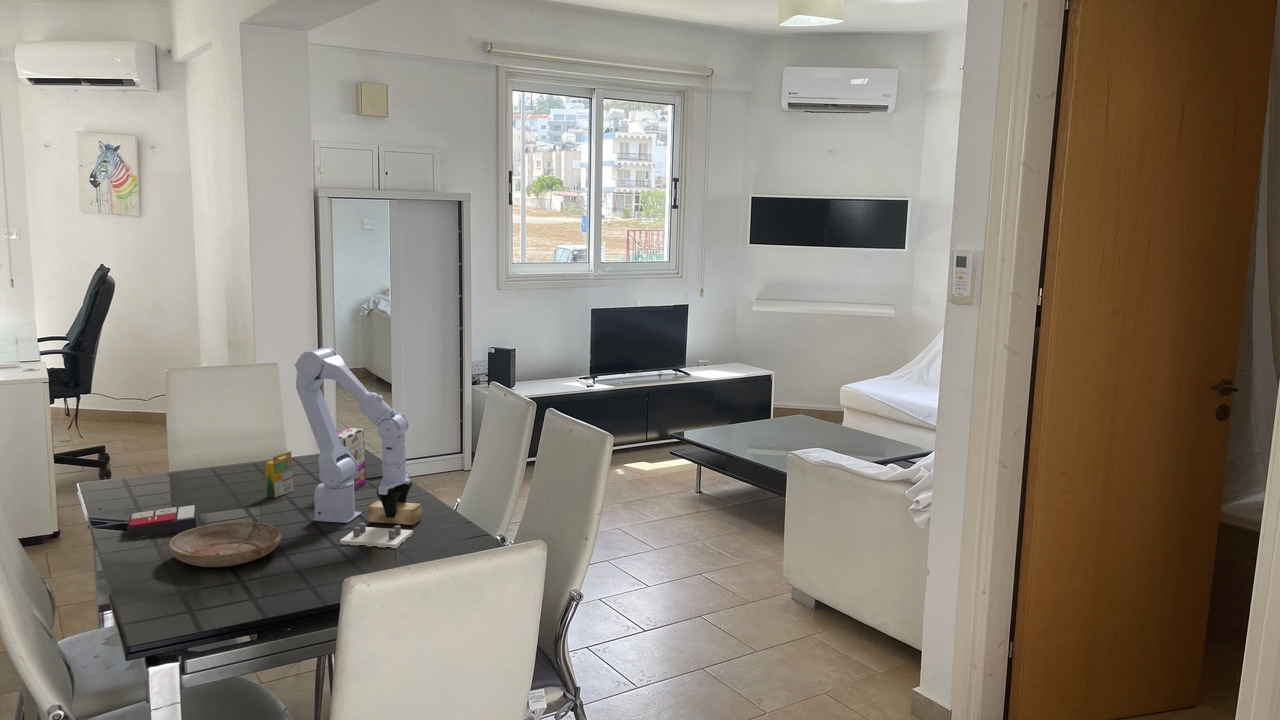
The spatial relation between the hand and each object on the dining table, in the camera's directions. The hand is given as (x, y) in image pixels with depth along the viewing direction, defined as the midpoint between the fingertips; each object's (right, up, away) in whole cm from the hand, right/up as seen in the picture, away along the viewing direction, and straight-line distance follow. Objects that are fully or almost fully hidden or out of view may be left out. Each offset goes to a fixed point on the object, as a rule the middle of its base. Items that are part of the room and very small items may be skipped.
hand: (395, 513), depth 240 cm
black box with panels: (-55, -3, -7) cm, 56 cm away
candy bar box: (-21, +2, +29) cm, 35 cm away
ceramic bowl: (-32, -6, -26) cm, 41 cm away
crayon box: (-38, +2, +22) cm, 44 cm away
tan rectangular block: (0, -2, 0) cm, 2 cm away
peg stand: (-1, -4, -13) cm, 13 cm away
